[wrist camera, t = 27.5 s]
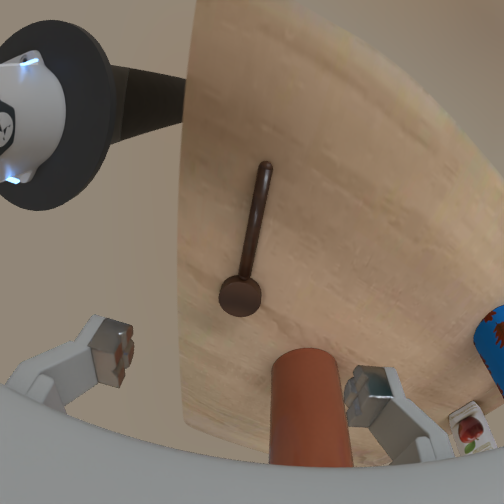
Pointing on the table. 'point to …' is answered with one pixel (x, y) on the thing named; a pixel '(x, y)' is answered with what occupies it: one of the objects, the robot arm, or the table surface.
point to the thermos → (492, 345)
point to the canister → (308, 412)
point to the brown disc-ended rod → (248, 255)
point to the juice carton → (471, 430)
